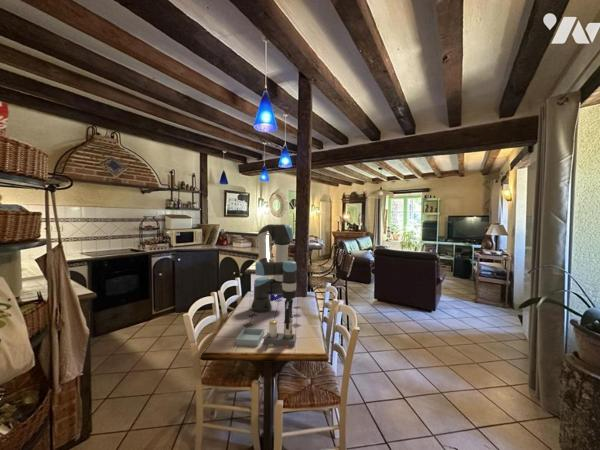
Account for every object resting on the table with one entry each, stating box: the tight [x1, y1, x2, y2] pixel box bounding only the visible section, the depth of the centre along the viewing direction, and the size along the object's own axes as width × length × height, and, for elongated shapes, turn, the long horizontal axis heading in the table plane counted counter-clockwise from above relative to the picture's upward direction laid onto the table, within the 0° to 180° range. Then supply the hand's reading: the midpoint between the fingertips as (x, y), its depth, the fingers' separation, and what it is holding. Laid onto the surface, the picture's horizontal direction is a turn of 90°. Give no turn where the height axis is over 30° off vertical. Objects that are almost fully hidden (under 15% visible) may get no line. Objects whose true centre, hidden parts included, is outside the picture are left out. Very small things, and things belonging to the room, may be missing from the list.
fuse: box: [268, 319, 278, 339], centre depth 140 cm, size 4×4×10 cm
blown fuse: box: [283, 318, 293, 340], centre depth 139 cm, size 4×4×10 cm
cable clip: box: [270, 295, 283, 301], centre depth 217 cm, size 12×4×6 cm, turn 141°
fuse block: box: [263, 331, 297, 348], centre depth 139 cm, size 9×16×3 cm, turn 84°
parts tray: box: [235, 327, 265, 347], centre depth 142 cm, size 14×12×3 cm
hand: (288, 332), depth 139 cm, fingers closed on blown fuse, 4 cm apart
